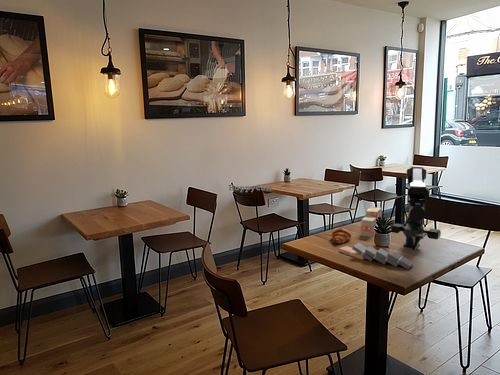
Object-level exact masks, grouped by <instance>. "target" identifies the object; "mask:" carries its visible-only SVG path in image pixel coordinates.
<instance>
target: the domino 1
mask: <svg viewBox="0 0 500 375" xmlns="http://www.w3.org/2000/svg"><path fill="white" fill-rule="evenodd" d="M352 248H353V247H350V246H348V245H345V246H343V247H339V249H338V250H339V252H340V253H342V254H345V255H348V256H351V257H353V258H356V259H359V260H367V259H366V258H365V257H363V256H362V255H360V254H359V253H357V252H356V251H354V250H353V249H352Z"/></svg>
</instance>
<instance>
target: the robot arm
mask: <svg viewBox="0 0 500 375" xmlns="http://www.w3.org/2000/svg"><path fill="white" fill-rule="evenodd" d="M426 179H427V169H425V168H424V166H422V165H421V166H420V165H419V166H418V165H414V166H413V165H412V166H411V167H410V168H407V169H406V180H407V185H408V186H409V187H407V198H406V203H407V204H409V206H408V207H409V208H408V215H407V216H406V217H405V222H403V224H401V223H394V224H393V225H392V226H390V233H393V234H394V233H395V234H399V233H400V232H402V233H403V234H402V235H404V237H405V243H404V244H402V246H403V247H408V248H411V249H412V251H414V252H415V251H416V250H417V249H418V247H419V246H420V245H421V244H420V242H421V240H423V239H424V238H425V237H427V238H428V239H432V240H439V238H440V237H441V234H442V231H441V230H440V229H437V228H430V229H429V230H428V229H426V230H425V227H424V219H425V217H426V211H425V210H426V209H425V205H428V202H430V190H429V188H427V185H426V183H425V182H424V181H425V180H426Z"/></svg>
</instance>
